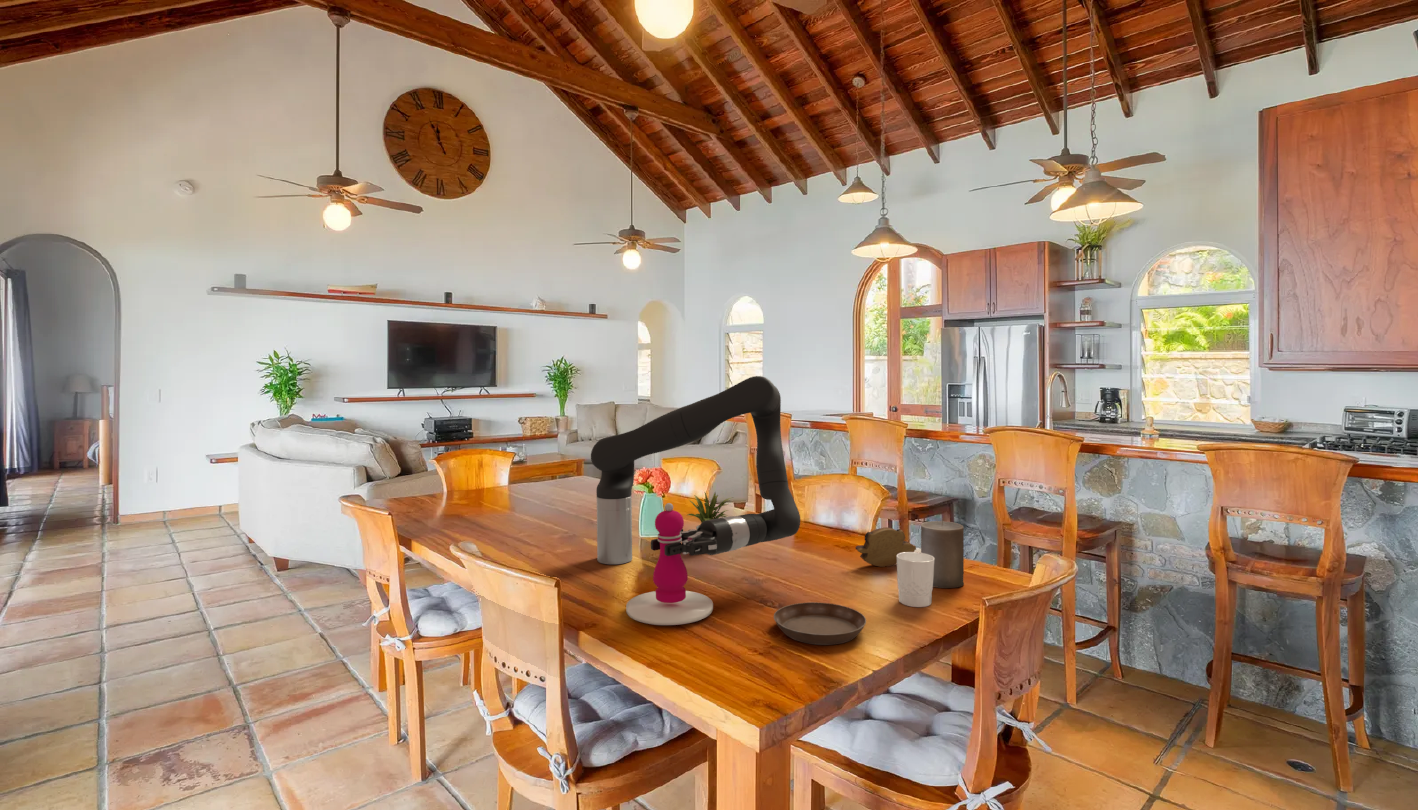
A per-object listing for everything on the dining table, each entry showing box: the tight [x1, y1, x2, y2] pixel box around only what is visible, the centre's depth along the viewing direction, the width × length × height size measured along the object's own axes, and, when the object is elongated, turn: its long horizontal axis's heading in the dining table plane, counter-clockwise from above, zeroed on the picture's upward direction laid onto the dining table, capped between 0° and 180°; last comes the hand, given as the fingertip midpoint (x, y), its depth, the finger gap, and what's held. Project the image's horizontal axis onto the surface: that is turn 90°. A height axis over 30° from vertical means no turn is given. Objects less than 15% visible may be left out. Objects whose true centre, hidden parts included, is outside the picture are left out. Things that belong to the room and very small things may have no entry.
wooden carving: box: [855, 527, 917, 568], centre depth 173 cm, size 16×5×10 cm, turn 108°
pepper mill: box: [652, 502, 689, 603], centre depth 139 cm, size 7×7×20 cm
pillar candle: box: [920, 519, 965, 589], centre depth 158 cm, size 10×10×15 cm
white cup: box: [896, 551, 935, 608], centre depth 145 cm, size 8×8×10 cm
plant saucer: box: [773, 601, 867, 646], centre depth 130 cm, size 18×18×3 cm
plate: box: [625, 590, 714, 626], centre depth 140 cm, size 18×18×2 cm
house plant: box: [687, 490, 734, 530], centre depth 188 cm, size 14×14×16 cm
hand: (658, 548), depth 137 cm, fingers closed on pepper mill, 4 cm apart
